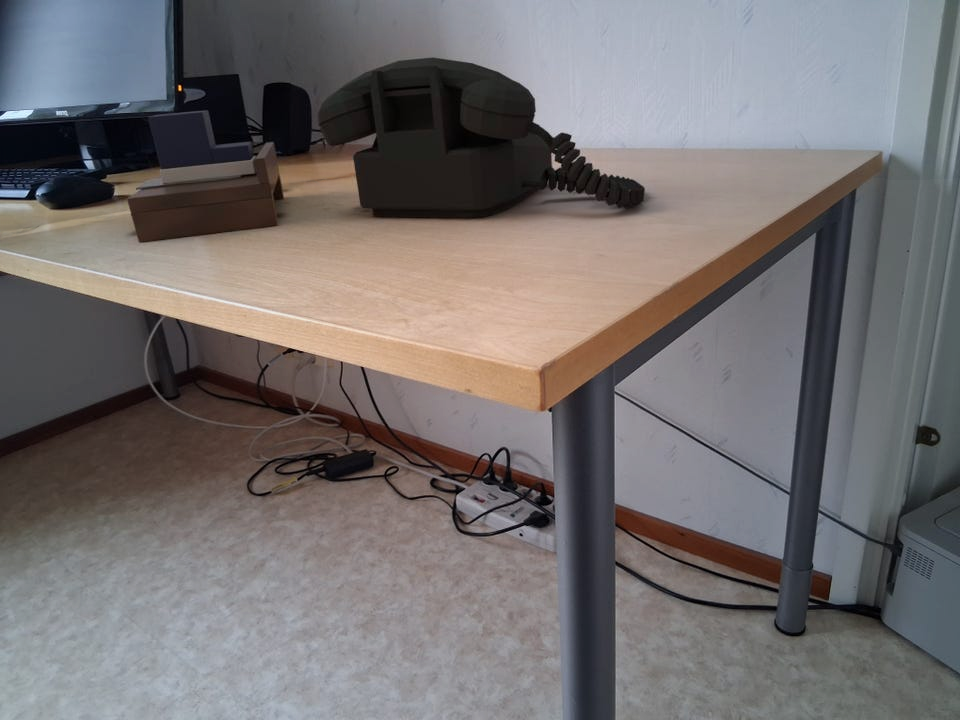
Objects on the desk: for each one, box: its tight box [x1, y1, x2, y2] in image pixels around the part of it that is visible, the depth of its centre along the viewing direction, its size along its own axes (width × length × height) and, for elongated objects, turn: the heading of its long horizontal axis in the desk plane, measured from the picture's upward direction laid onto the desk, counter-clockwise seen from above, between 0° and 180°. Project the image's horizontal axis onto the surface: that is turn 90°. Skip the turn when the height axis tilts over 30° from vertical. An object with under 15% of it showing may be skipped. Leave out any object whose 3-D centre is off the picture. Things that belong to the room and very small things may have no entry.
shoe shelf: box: [126, 141, 285, 243], centre depth 80 cm, size 14×20×7 cm
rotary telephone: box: [317, 56, 646, 219], centre depth 74 cm, size 33×22×15 cm, turn 65°
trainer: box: [147, 109, 257, 184], centre depth 79 cm, size 10×5×7 cm, turn 103°
